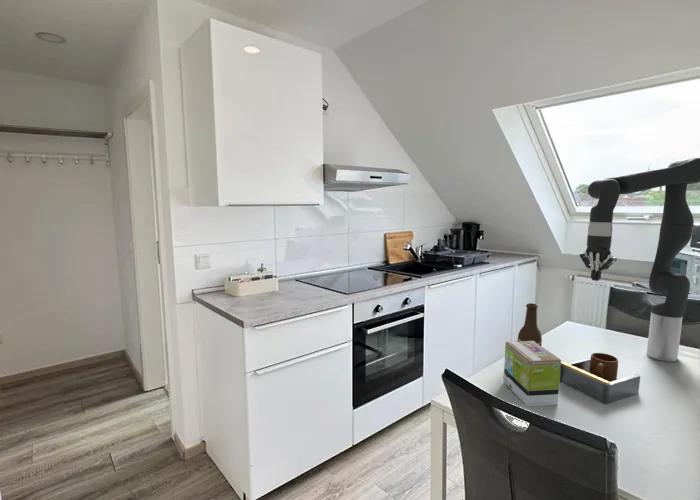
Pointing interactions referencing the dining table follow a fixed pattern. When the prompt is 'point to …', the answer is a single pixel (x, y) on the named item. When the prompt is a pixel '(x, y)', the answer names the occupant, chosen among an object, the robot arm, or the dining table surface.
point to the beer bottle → (530, 326)
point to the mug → (604, 366)
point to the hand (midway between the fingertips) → (595, 280)
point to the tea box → (532, 373)
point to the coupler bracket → (597, 382)
